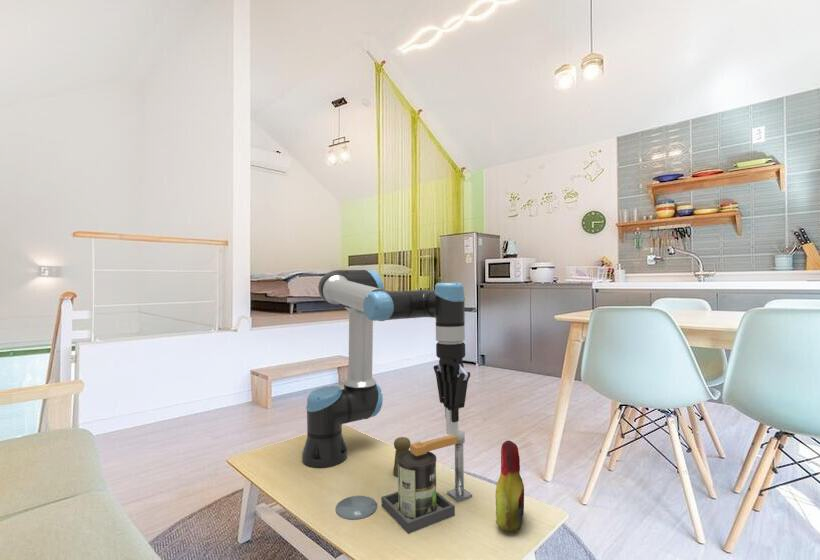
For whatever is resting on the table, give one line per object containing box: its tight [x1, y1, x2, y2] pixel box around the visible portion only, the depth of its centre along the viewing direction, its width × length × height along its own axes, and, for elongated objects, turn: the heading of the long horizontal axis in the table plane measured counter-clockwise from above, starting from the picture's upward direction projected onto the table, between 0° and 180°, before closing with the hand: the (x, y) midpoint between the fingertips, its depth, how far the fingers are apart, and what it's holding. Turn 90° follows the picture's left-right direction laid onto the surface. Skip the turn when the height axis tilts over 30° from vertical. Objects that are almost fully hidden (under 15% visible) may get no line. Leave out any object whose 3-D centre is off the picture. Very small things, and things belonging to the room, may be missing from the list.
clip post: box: [446, 443, 473, 503], centre depth 114 cm, size 5×5×15 cm
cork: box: [392, 436, 411, 479], centre depth 127 cm, size 6×6×11 cm
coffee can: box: [397, 449, 438, 520], centre depth 106 cm, size 10×10×14 cm
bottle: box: [495, 440, 525, 532], centre depth 101 cm, size 12×6×20 cm, turn 149°
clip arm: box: [409, 429, 466, 456], centre depth 110 cm, size 3×17×3 cm, turn 121°
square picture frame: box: [381, 491, 456, 535], centre depth 106 cm, size 14×14×2 cm
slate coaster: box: [335, 495, 378, 521], centre depth 108 cm, size 11×11×1 cm
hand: (452, 433), depth 105 cm, fingers closed
